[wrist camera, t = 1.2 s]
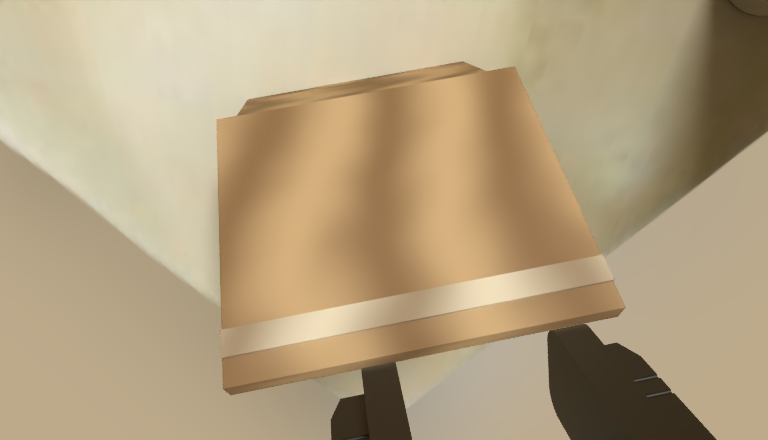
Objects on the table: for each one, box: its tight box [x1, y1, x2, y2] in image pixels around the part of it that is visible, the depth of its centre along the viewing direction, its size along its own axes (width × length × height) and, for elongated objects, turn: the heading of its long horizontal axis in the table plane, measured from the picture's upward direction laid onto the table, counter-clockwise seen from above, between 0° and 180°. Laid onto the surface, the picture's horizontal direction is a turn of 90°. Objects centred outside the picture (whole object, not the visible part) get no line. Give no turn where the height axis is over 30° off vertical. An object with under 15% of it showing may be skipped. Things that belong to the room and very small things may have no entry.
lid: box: [217, 66, 625, 395], centre depth 25 cm, size 16×14×1 cm
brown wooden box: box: [237, 62, 486, 116], centre depth 37 cm, size 16×14×10 cm
